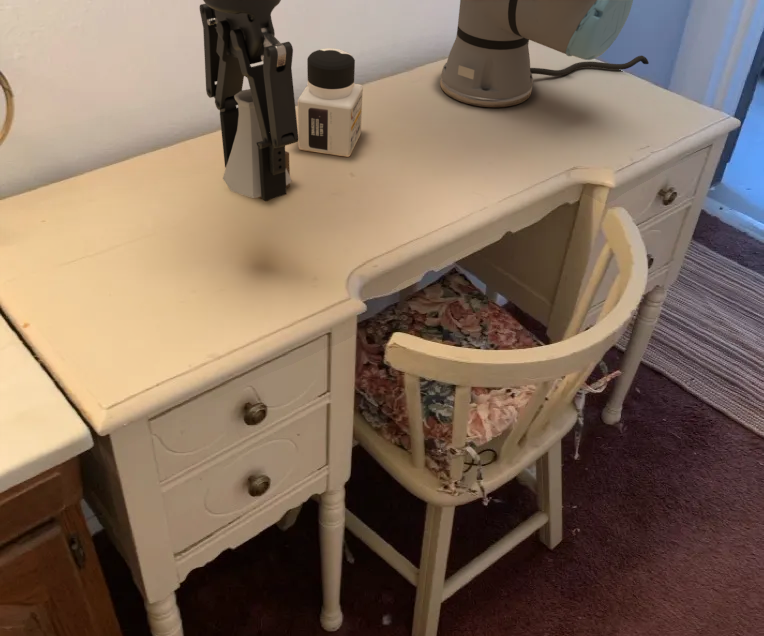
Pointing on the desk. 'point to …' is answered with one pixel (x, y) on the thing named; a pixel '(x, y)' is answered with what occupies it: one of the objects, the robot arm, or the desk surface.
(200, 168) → the desk surface
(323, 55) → the container
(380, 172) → the desk surface
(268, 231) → the desk surface
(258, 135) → the flask
